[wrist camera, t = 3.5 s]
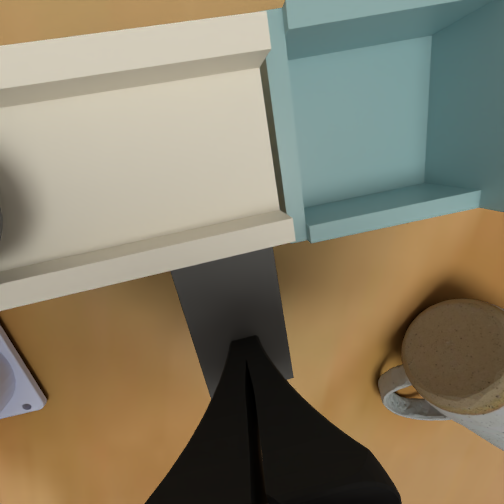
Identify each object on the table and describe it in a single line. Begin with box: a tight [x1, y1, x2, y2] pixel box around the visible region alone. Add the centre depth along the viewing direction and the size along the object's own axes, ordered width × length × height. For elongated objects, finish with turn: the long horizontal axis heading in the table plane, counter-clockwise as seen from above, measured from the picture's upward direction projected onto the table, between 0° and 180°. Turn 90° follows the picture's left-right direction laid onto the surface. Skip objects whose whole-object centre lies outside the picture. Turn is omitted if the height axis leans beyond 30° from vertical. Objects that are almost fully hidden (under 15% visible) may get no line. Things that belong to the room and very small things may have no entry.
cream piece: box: [0, 11, 296, 399], centre depth 9 cm, size 14×14×4 cm
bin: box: [259, 0, 504, 243], centre depth 11 cm, size 10×9×6 cm
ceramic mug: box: [378, 299, 504, 451], centre depth 17 cm, size 11×8×8 cm
